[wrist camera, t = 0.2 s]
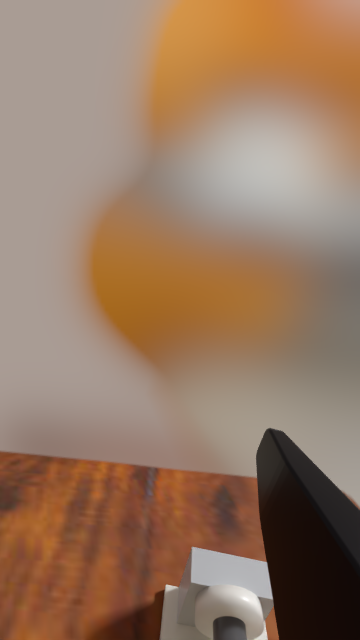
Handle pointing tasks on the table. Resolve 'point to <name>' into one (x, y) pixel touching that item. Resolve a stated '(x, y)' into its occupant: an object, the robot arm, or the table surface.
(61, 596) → the table surface
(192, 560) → the cord rig
